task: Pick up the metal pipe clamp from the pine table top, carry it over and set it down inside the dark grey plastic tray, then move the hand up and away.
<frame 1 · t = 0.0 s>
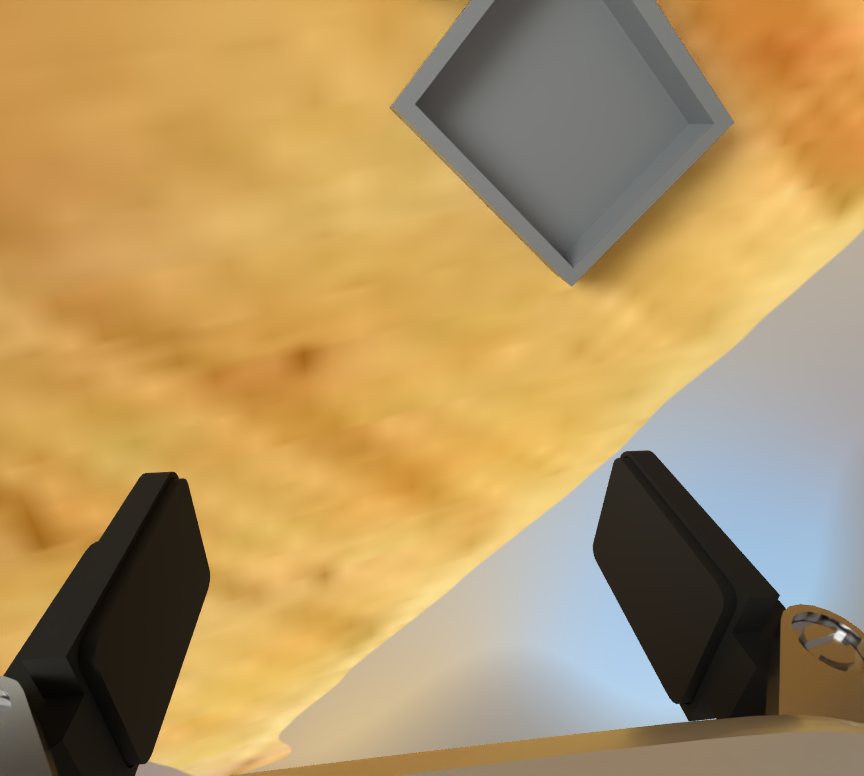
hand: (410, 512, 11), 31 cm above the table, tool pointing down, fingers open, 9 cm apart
tray: (550, 115, 36), on the table
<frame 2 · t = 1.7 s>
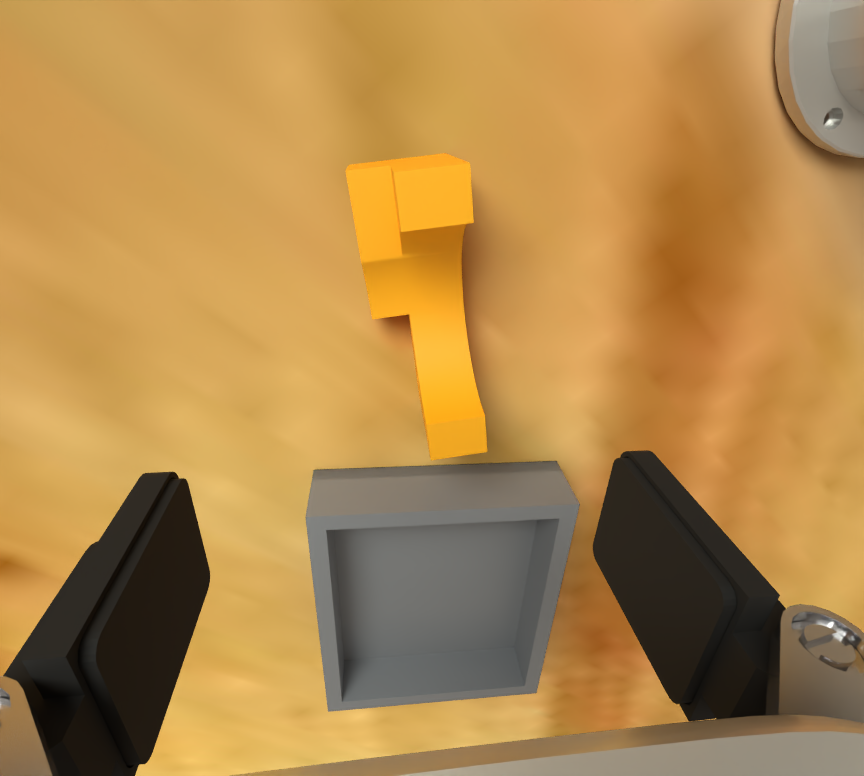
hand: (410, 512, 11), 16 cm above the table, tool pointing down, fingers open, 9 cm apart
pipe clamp: (412, 287, 25), on the table
tray: (433, 568, 34), on the table
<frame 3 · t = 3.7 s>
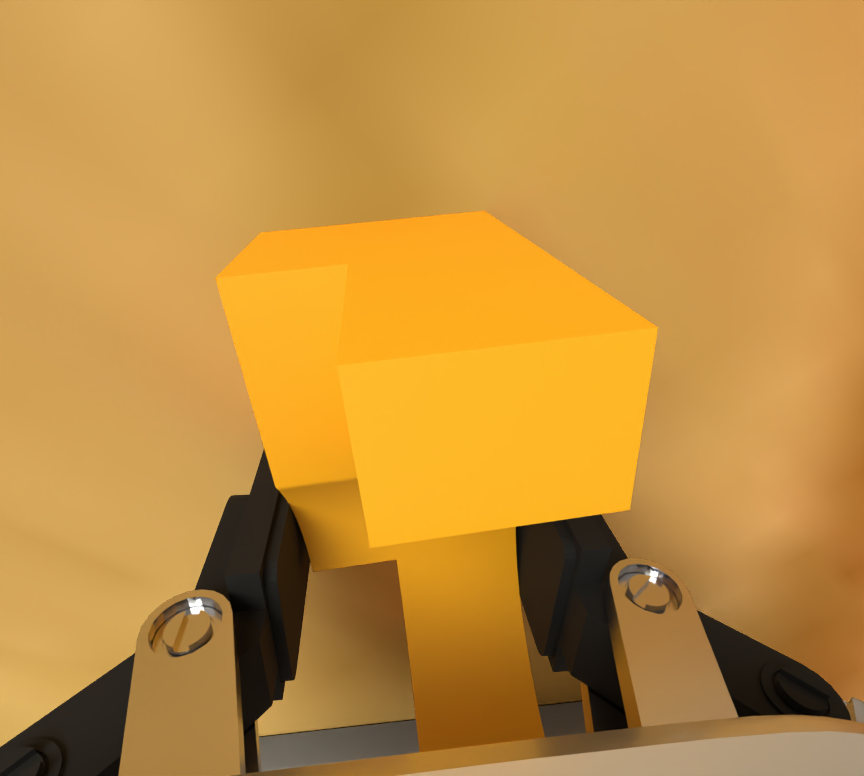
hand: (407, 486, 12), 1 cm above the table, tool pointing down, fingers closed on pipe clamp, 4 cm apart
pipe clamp: (404, 464, 12), on the table, touching gripper
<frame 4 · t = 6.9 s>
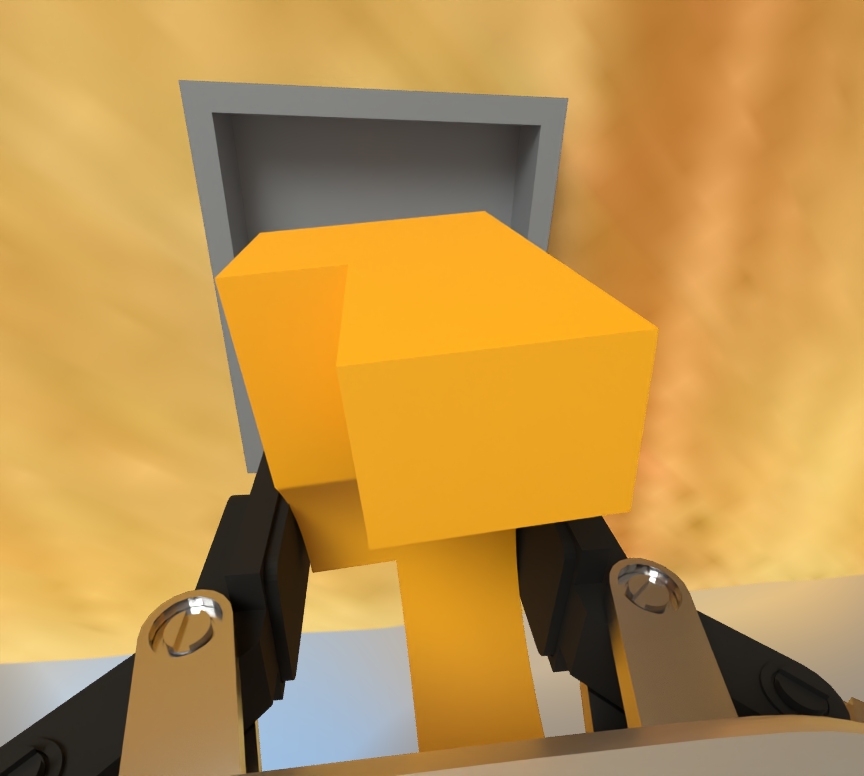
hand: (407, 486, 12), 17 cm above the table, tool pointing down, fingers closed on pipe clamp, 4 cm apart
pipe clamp: (404, 465, 12), point 16 cm above the table, touching gripper
tray: (382, 288, 27), on the table
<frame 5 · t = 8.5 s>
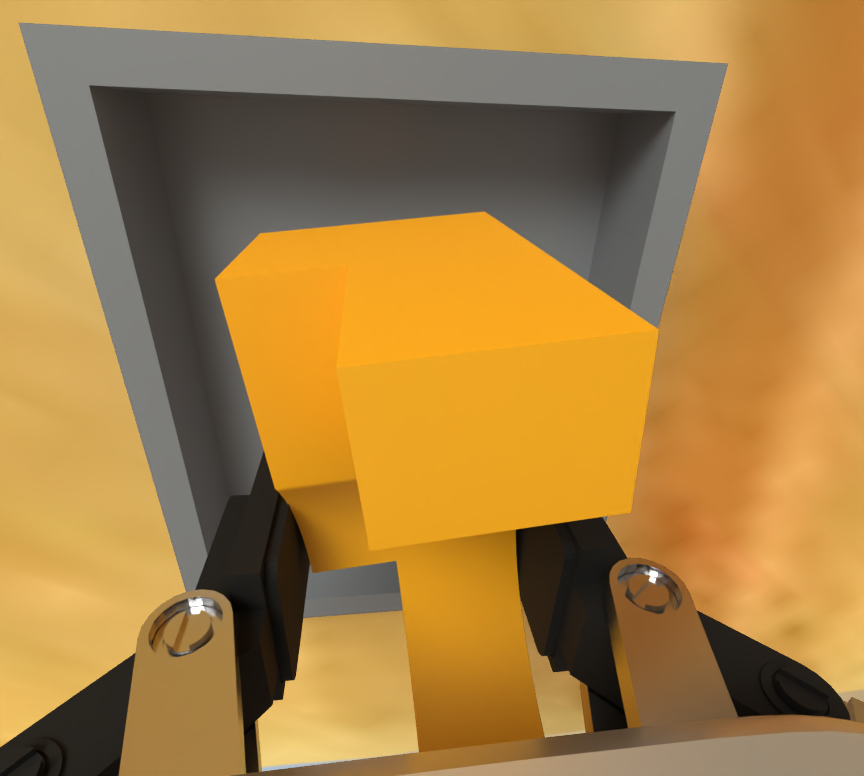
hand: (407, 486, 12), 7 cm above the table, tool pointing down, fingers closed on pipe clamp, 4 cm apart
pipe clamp: (404, 465, 12), point 7 cm above the table, touching gripper
tray: (394, 354, 18), on the table
when the fingers open (4 cm above the table, at t = 10.1 s): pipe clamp drops 2 cm, resting on tray.
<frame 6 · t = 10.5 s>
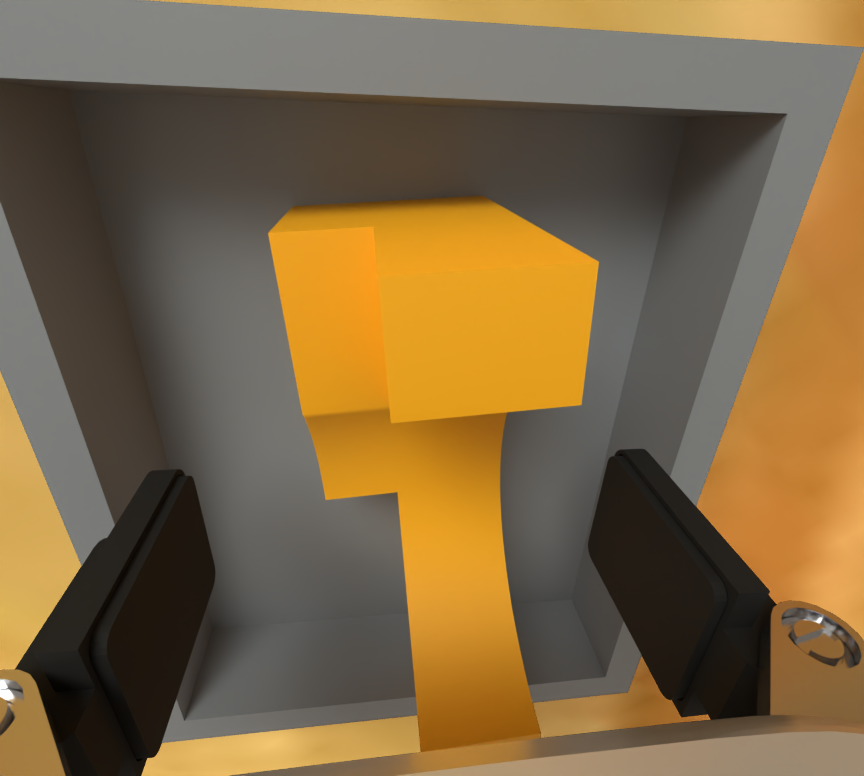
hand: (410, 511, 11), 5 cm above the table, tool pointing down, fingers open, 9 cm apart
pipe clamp: (405, 419, 14), point 1 cm above the table, touching tray
tray: (398, 408, 15), on the table
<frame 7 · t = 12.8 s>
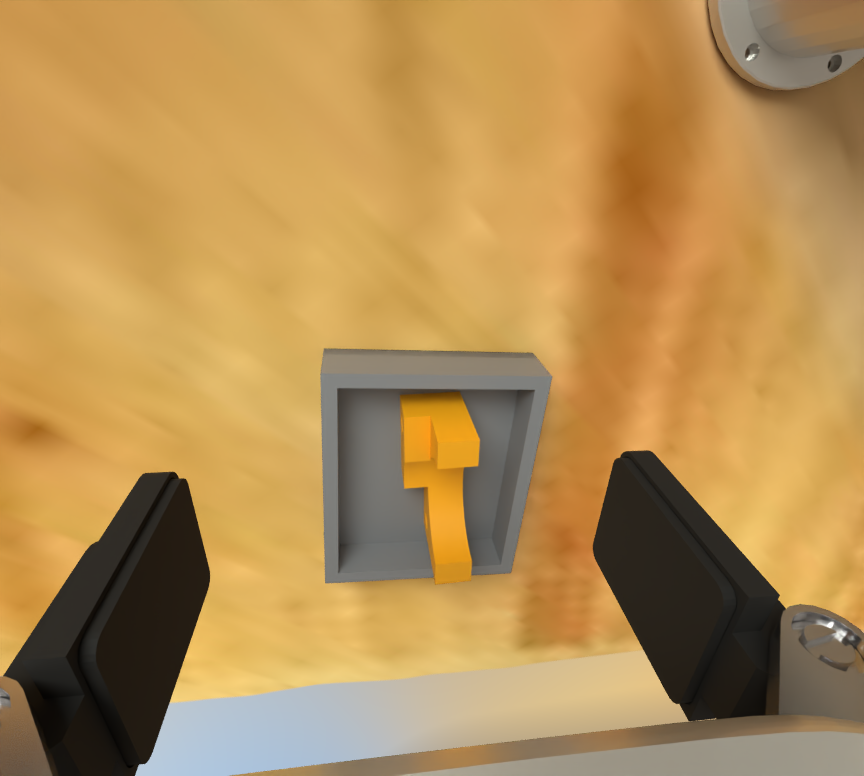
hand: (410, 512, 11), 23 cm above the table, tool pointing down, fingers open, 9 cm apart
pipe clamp: (428, 460, 38), point 1 cm above the table, touching tray
tray: (422, 456, 39), on the table
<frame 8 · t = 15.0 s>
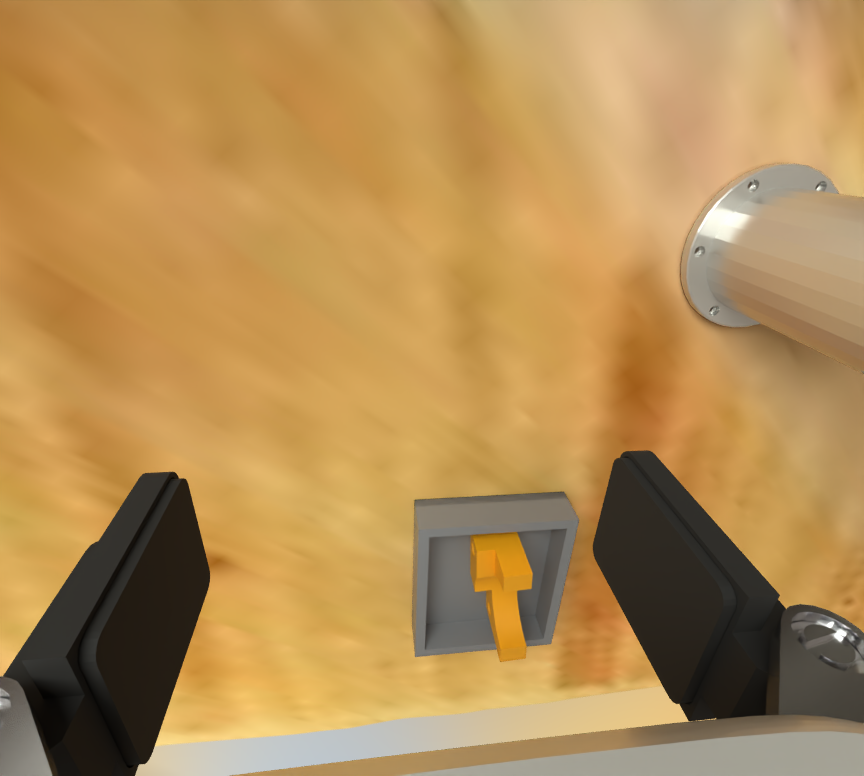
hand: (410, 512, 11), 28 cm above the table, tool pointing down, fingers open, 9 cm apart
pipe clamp: (490, 565, 52), point 1 cm above the table, touching tray
tray: (483, 561, 52), on the table
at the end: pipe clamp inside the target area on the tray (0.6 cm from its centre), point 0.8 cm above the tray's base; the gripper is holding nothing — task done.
